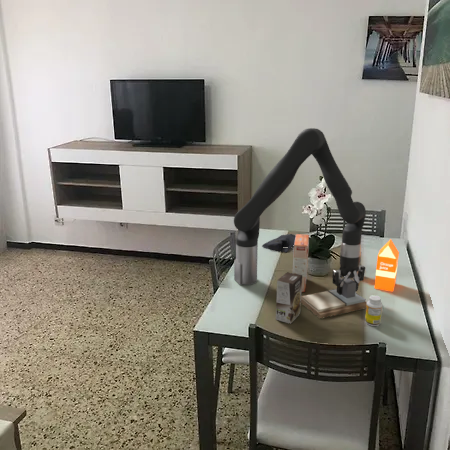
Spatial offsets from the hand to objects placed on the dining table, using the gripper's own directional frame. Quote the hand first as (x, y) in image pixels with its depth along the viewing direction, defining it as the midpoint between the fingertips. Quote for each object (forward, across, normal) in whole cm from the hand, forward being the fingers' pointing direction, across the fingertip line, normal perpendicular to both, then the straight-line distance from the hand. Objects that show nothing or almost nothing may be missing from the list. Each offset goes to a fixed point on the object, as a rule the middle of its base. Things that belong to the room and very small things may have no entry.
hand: (347, 292), depth 188 cm
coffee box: (+4, +28, +2) cm, 28 cm away
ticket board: (+4, +7, 0) cm, 8 cm away
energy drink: (+4, -17, -19) cm, 26 cm away
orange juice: (+4, -23, -5) cm, 24 cm away
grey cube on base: (+2, 0, 0) cm, 2 cm away
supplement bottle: (+4, +2, +18) cm, 19 cm away
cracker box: (+4, +10, -20) cm, 23 cm away
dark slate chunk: (+4, -8, -66) cm, 67 cm away
